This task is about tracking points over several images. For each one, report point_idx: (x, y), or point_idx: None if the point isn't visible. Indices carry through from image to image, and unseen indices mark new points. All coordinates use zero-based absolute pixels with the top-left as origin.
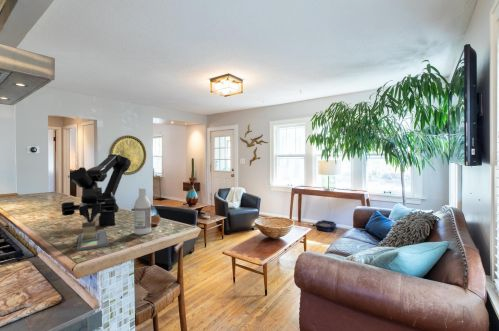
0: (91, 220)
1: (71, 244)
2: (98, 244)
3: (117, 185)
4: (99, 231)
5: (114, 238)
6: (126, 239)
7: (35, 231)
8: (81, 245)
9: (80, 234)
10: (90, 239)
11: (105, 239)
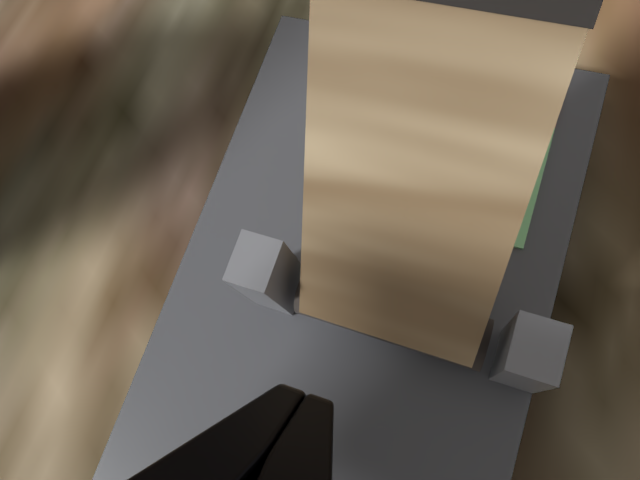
0: (244, 421)
1: (615, 464)
2: None
3: None
4: (227, 278)
5: (106, 276)
6: (52, 130)
7: None
8: None
9: (533, 329)
10: (368, 355)
11: (232, 190)
